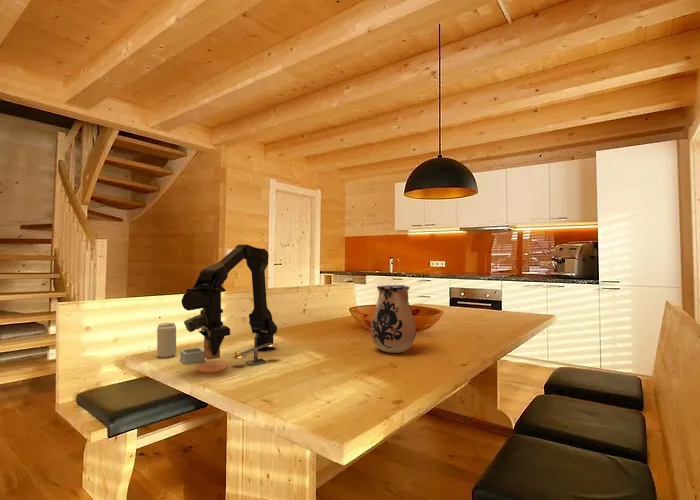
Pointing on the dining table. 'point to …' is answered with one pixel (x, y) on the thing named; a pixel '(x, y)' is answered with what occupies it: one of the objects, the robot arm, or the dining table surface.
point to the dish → (211, 366)
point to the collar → (192, 355)
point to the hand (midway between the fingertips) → (212, 353)
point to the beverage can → (166, 340)
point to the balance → (256, 361)
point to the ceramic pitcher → (393, 320)
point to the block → (209, 350)
